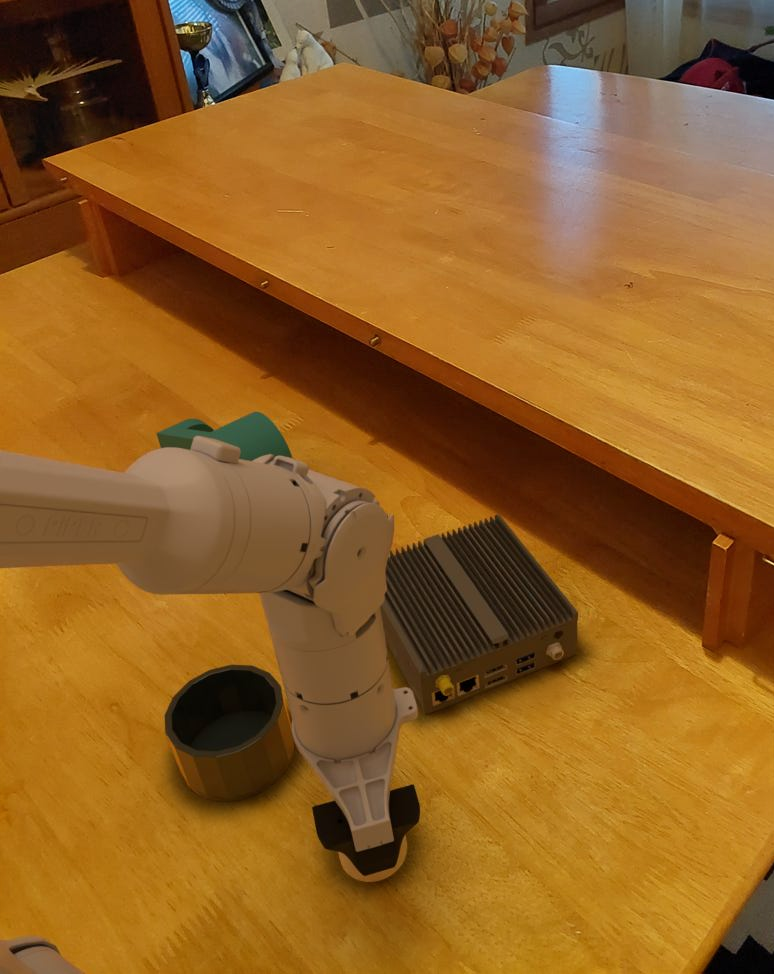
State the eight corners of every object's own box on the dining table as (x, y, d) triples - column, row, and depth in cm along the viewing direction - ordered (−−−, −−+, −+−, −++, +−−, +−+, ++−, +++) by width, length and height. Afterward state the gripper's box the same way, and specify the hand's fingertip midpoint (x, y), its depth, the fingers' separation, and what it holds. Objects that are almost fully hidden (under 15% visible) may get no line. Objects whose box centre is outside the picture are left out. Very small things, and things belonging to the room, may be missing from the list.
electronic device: (430, 727, 68) (424, 680, 65) (361, 599, 79) (353, 554, 76) (584, 664, 72) (585, 618, 69) (498, 551, 83) (496, 507, 80)
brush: (383, 894, 58) (368, 819, 53) (326, 864, 59) (306, 789, 55) (420, 836, 61) (408, 761, 56) (364, 810, 62) (348, 735, 58)
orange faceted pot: (246, 819, 62) (230, 774, 59) (158, 775, 66) (139, 729, 63) (316, 733, 68) (305, 687, 65) (232, 695, 71) (218, 650, 68)
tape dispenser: (242, 526, 88) (224, 459, 83) (165, 464, 97) (146, 400, 92) (300, 495, 91) (286, 429, 87) (221, 437, 100) (205, 375, 96)
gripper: (441, 749, 45) (459, 898, 53) (380, 560, 56) (402, 707, 64) (295, 790, 43) (336, 936, 51) (262, 587, 54) (301, 734, 63)
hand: (365, 812), depth 58 cm, fingers open, 7 cm apart
